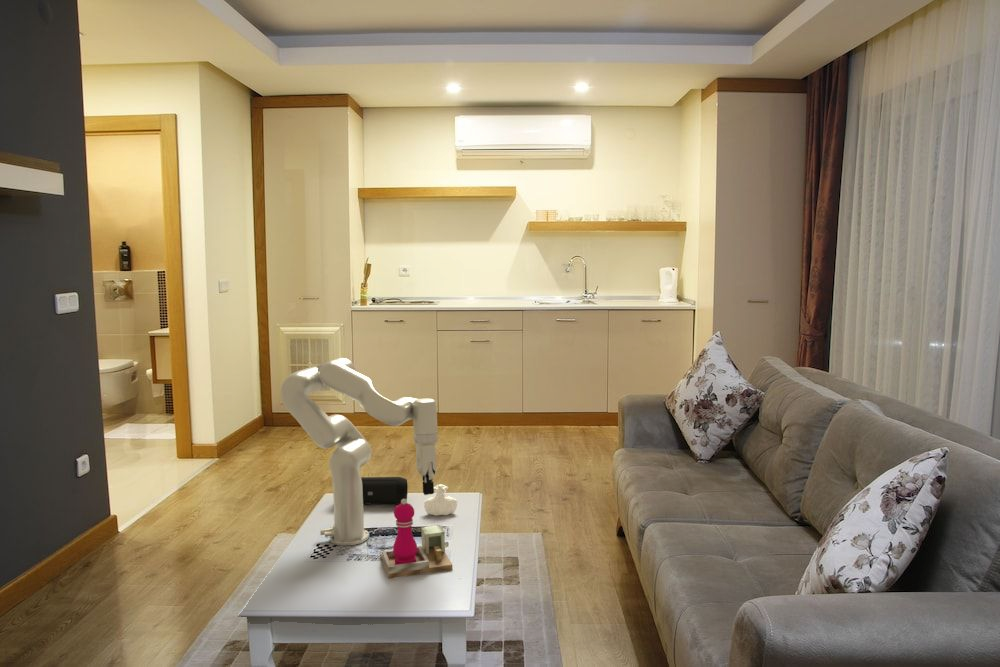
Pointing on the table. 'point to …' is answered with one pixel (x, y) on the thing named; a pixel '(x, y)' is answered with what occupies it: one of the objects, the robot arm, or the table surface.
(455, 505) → the bust
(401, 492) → the portable speaker
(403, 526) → the pepper mill
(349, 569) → the table surface
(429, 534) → the block
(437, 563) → the stand
